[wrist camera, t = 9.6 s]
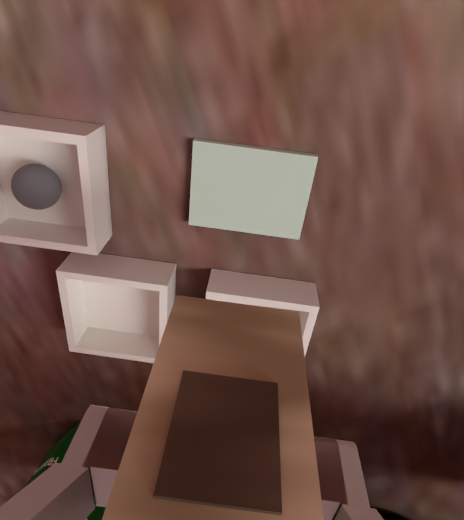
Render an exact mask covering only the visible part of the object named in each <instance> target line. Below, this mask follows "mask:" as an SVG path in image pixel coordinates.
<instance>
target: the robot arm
mask: <svg viewBox="0 0 464 520" xmlns="http://www.w3.org/2000/svg"><path fill="white" fill-rule="evenodd" d="M136 415H137V412H136V411H130V410H123V409H116V408H110V407H105V406H97V405H90V407H89V408H88V409H87V410H86V412H85V414H84V416H83V418H82V421H81V423H80V425H79V427H78V429H77V431H76V433H75V435H74V437H73V439H72V442H71V444H70V446H69V448H68V450H67V452H66V454H65V456H64V458H63V460H62V463H55V464H53V465H52V466H51V467H50V468H48V469H47V470H46V471H45V472H43V473H42V474H41V475H40V476H38V477H37V478H36V479H35V480H33V481H32V482H31V483H30V484H28V485H27V486H26V487H25V488H23V489H22V490H21V491H20V492H18V493H17V494H16V495H15V496H13V497H12V498H11V499H10V500H8V501H7V502H6V503H5V504H3V505H2V506H1V507H0V520H85V519H86V518H87V517H88V516H89V515H90V513H91V512H92V511H93V510H94V509H95V506H100V507H106V506H107V503H108V500H109V497H110V494H111V491H112V488H113V485H114V481H115V478H116V475H117V472H118V469H119V466H120V463H121V460H122V457H123V454H124V451H125V448H126V445H127V442H128V439H129V436H130V433H131V430H132V427H133V424H134V421H135V418H136ZM314 442H315V450H316V458H317V467H318V475H319V484H320V492H321V501H322V509H323V518H324V520H384V519H383V518H382V516H381V515H380V514H379V512H378V511H377V510H376V509H373V508H370V505H369V500H368V496H367V491H366V486H365V482H364V477H363V473H362V468H361V463H360V459H359V454H358V449H357V446H356V444H355V443H354V442H353V441H345V440H337V439H334V438H326V437H318V436H314Z"/></svg>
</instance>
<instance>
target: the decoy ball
mask: <svg viewBox="0 0 464 520" xmlns="http://www.w3.org/2000/svg"><path fill="white" fill-rule="evenodd" d="M11 190H12V193H13V195H14V197H15V198H16V199H17V201H18V202H19V203H21V204H22V205H23V206H25V207H27V208H30V209H35V210H42V209H46V208H49V207H51V206H53V205H54V204H55V203H56V202H57V201H58V200H59V198H60V196H61V192H62V185H61V181H60V179H59V177H58V176H57V174H56V173H55V172H54V171H53V170H52V169H50V168H49V167H47V166H44V165H41V164H27V165H24V166H22V167H20V168H19V169H18V170H17V171H16V172H15V173H14V175H13V177H12V180H11Z"/></svg>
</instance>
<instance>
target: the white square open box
mask: <svg viewBox="0 0 464 520" xmlns="http://www.w3.org/2000/svg"><path fill="white" fill-rule="evenodd" d="M27 164H41V165H44V166H47V167H49V168H50V169H52V170H53V171H54V172H55V173H56V174H57V176H58V177H59V179H60V181H61V185H62V192H61V196H60V198H59V200H58V201H57V202H56V203H55V204H54V205H53V206H51V207H49V208H46V209H42V210H35V209H30V208H27V207H25V206H23V205H22V204H21V203H19V202H18V201H17V199H16V198H15V197H14V195H13V193H12V190H11V180H12V177H13V175H14V173H15V172H16V171H17V170H18V169H19V168H20V167H22V166H24V165H27ZM111 236H112V223H111V208H110V194H109V180H108V165H107V151H106V136H105V125H104V124H96V123H89V122H81V121H74V120H66V119H59V118H51V117H43V116H36V115H28V114H21V113H13V112H6V111H0V242H3V243H10V244H18V245H25V246H32V247H39V248H47V249H54V250H61V251H69V252H76V253H83V254H90V255H98V254H99V252H100V251H101V250H102V248H103V247H104V246H105V244H106V243H107V242H108V240H109V239H110V238H111Z"/></svg>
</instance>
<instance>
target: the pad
mask: <svg viewBox="0 0 464 520" xmlns="http://www.w3.org/2000/svg"><path fill="white" fill-rule="evenodd" d="M317 161H318V155H317V154H311V153H304V152H296V151H289V150H281V149H273V148H266V147H258V146H251V145H243V144H236V143H228V142H221V141H213V140H205V139H198V138H194V140H193V150H192V169H191V188H190V208H189V225H195V226H202V227H210V228H217V229H224V230H232V231H239V232H247V233H254V234H261V235H269V236H276V237H283V238H291V239H298V240H299V238H300V234H301V230H302V226H303V221H304V217H305V213H306V208H307V204H308V200H309V195H310V191H311V187H312V182H313V178H314V174H315V169H316V165H317Z"/></svg>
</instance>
